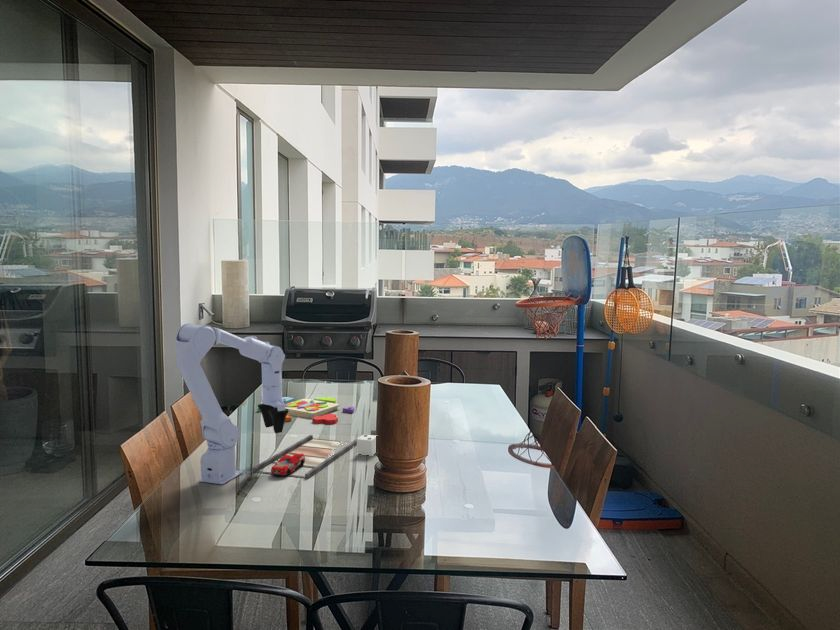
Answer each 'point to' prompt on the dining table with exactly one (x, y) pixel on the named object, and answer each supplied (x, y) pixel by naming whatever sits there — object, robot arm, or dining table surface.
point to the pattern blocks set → (314, 409)
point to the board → (309, 454)
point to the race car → (288, 464)
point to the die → (366, 445)
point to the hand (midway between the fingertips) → (273, 429)
